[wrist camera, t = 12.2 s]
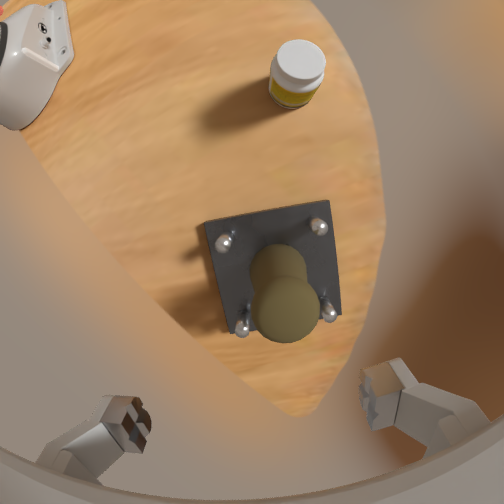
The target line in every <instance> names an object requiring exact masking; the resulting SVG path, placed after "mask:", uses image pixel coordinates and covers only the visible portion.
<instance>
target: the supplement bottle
mask: <svg viewBox="0 0 504 504" xmlns="http://www.w3.org/2000/svg"><path fill="white" fill-rule="evenodd" d="M325 65H326V60H325V56H324V54H323V52H322V51H321V49H320V48H319V47H318V46H316V45H315V44H313V43H311V42H309V41H306V40H291V41H288V42H286V43H284V44H283V45H282V46H281V47H280V48H279V50H278V52H277V54H276V55H275V57H274V58H273V60H272V63H271V68H270V78H269V92H270V95H271V97H272V99H273V100H274V101H275V102H276V103H277V104H278V105H280V106H282V107H285V108H289V109H296V108H300V107H303V106H304V105H306V104H307V103H308V102H309V101H310V100H311V98H312V97H313V95H314V94H315V92H316V91H317V89H318V87H319V86H320V84H321V82H322V80H323V77H324V68H325Z"/></svg>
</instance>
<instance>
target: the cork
mask: <svg viewBox="0 0 504 504" xmlns="http://www.w3.org/2000/svg"><path fill="white" fill-rule="evenodd" d="M249 271H250V279H251V282H252V286H253V289H254V292H255V294H254V297H253V300H252V304H251V318H252V320H253V323H254V325H255V327H256V329H257V330H258V331H259V332H260V333H261V334H262V335H263V336H264V337H265V338H267V339H269V340H271V341H274V342H279V343H292V342H295V341H298V340H301V339H302V338H304V337H305V336H307V335H308V334H309V333H310V332H311V331H312V330H313V329H314V327H315V326H316V324H317V322H318V319H319V315H320V303H319V300H318V296H317V294H316V292H315V291H314V289H313V288H312V287H311V286H310V284H308V282H307V270H306V264H305V261H304V259H303V257H302V256H301V254H300V253H299V252H298V251H297V250H296V249H294V248H292V247H291V246H288V245H284V244H272V245H269V246H267V247H264V248H263V249H261V250H260V251H259V252H258V253H256V255H255V256H254V258H253V259H252V261H251V265H250V269H249Z"/></svg>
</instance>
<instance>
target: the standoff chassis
mask: <svg viewBox="0 0 504 504" xmlns="http://www.w3.org/2000/svg"><path fill="white" fill-rule="evenodd" d="M204 226H205V230H206V235H207V239H208V244H209V248H210V253H211V257H212V262H213V266H214V270H215V275H216V279H217V283H218V287H219V291H220V296H221V300H222V304H223V308H224V312H225V316H226V320H227V324H228V328H229V332H230V334H234V333H235V334H236V335H237V336H238V337H240V338H244V337H246V336H248V334H249V331H255V330H257V329H256V327H255V325H254V323H253V320H252V318H251V304H252V300H253V297H254V294H255V292H254V289H253V286H252V282H251V279H250V271H249V269H250V265H251V261H252V259H253V258H254V256H255V255H256V253H258V252H259V251H260V250H261V249H263V248H264V247H267V246H269V245H272V244H284V245H288V246H291V247H292V248H294V249H296V250H297V251H298V252H299V253H300V254H301V256H302V257H303V259H304V261H305V264H306V270H307V282H308V284H310V286H311V287H312V288H313V289H314V291H315V292H316V294H317V296H318V300H319V303H320V315H319V319H323V318H324V320H325V321H326V322H328V323H331V322H334V321H335V320H336V318H337V316H338V315H342V312H341V298H340V286H339V275H338V265H337V255H336V246H335V238H334V230H333V223H332V215H331V208H330V202H329V200H321V201H315V202H309V203H303V204H297V205H291V206H285V207H279V208H273V209H268V210H262V211H256V212H251V213H246V214H240V215H235V216H230V217H224V218H219V219H214V220H209V221H206V222H204Z"/></svg>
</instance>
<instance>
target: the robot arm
mask: <svg viewBox="0 0 504 504" xmlns="http://www.w3.org/2000/svg"><path fill="white" fill-rule="evenodd" d="M2 14H3V9H2V6H0V16H1V15H2ZM73 57H74V52H73V46H72V41H71V35H70V29H69V23H68V16H67V8H66V2H64V1H62V0H60V1H55V2H52V3H50V4H48V5H46V6H44V7H43V6H41V5H39V4H30V5H27V6H25V7H23V8H21V9H20V10H18V11H17V12H15V13H14V14H12V15H11V16H9V17H8V18H6V19H5V20H3V21H2V22H0V124H1V125H3V126H5V127H6V128H8V129H10V130H19V129H22V128H24V127H26V126H27V125H29V124H30V123H31V122H32V121H33V120H34V119H35V118H36V117H37V116H38V115H39V114H40V112H41V111H42V110H43V108H44V107H45V105H46V104H47V102H48V100H49V99H50V97H51V95H52V93H53V91H54V88H55V86H56V84H57V82H58V80H59V78H60V76H61V75H62V73H63V72H64V71H65V70H66V68H67V67H68V66H69V64H70V63H71V62H72V60H73ZM359 378H360V380H361V382H362V383H361V384H360V386H359V399H360V403H361V406H362V409H363V410H364V411H366V412H367V421H368V423H369V426H370V428H371V430H372V431H375V430H378V429H382V428H385V427H388V426H392V425H394V426H395V427H397V428H398V429H400V430H402V431H403V432H405V433H406V434H408V435H409V436H411V437H413V438H414V439H416V440H417V441H419V442H421V443H422V444H424V445H426V446H427V447H428V448H427V450H426V453H425V455H424V457H423V459H422V460H420V461H417V462H415V463H412V464H410V465H407V466H405V467H402V468H400V469H397V470H394V471H391V472H388V473H385V474H382V475H380V476H376V477H373V478H370V479H366V480H363V481H359V482H356V483H352V484H348V485H344V486H340V487H336V488H331V489H327V490H322V491H316V492H311V493H305V494H299V495H291V496H284V497H275V498H264V499H251V500H250V499H249V500H195V499H180V498H170V497H161V496H153V495H146V494H140V493H134V492H129V491H124V490H119V489H114V488H110V487H106V486H104V485H102V483H101V482H99V481H98V480H97V478H98V477H99V476H100V475H101V474H102V473H103V472H104V471H106V470H107V469H108V468H109V467H110V466H111V465H112V464H113V463H114V462H115V461H116V460H117V459H118V458H120V457H121V456H122V455H123V454H124V452H130V453H141V454H142V453H143V451H144V448H145V445H146V442H147V441H146V439H145V437H146V436H147V435H148V434H149V433H150V431H151V418H150V415H149V414H148V412H147V411H146V410H145V409H143V408H142V405H143V403H142V401H141V400H140V398H139V397H133V396H113V395H105V396H103V397H102V399H101V400H100V402H99V404H98V406H97V407H96V409H95V411H94V412H93V414H92V416H91V417H90V419H89V421H87V420H85V421H84V422H82V423H81V424H79V425H77V426H76V427H74V428H73V429H71V430H69V431H68V432H66V433H64V434H63V435H61V436H60V437H58V438H56V439H54V440H53V441H51V442H49V443H48V444H46V446H45V448H44V449H43V451H42V453H41V454H40V456H39V458H38V459H37V461H36V463H34V462H31V461H29V460H27V459H25V458H23V457H20V456H18V455H16V454H14V453H12V452H10V451H8V450H6V449H4V448H2V447H0V504H504V414H503V415H502V416H500V417H499V418H497V419H496V420H494V421H493V422H492V423H490V421H489V420H488V419H487V417H486V416H485V415H484V413H483V412H482V411H481V409H480V408H479V407H478V405H477V404H476V403H475V402H474V401H472V400H469V399H466V398H463V397H460V396H457V395H454V394H452V393H449V392H446V391H443V390H441V389H438V388H435V387H433V386H430V385H427V384H425V383H421V384H419V383H418V382H417V380H416V379H415V377H414V376H413V375H412V373H411V372H410V370H409V369H408V368H407V366H406V365H405V363H404V362H403V361H402V359H401V358H396V359H393V360H390V361H387V362H384V363H381V364H377V365H374V366H371V367H367V368H364V369H360V373H359Z"/></svg>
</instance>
